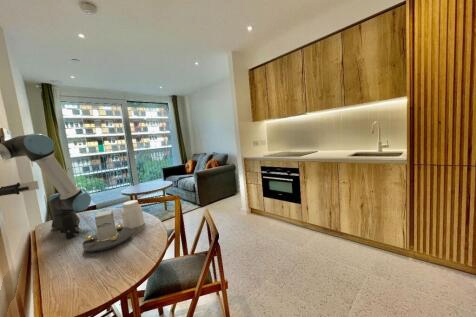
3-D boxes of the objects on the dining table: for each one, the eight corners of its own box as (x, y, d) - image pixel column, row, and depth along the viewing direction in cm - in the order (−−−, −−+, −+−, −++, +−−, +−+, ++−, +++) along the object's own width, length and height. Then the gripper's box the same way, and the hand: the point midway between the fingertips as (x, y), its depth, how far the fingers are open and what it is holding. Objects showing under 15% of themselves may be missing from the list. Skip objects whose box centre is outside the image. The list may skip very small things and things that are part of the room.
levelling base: (91, 238, 118) (90, 229, 118) (134, 229, 125) (133, 220, 125) (76, 259, 98) (74, 248, 97) (128, 246, 105) (127, 236, 104)
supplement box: (98, 241, 106) (93, 217, 105) (101, 235, 113) (96, 212, 111) (115, 236, 109) (110, 213, 108) (116, 231, 116) (112, 209, 114)
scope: (76, 210, 128) (74, 214, 120) (81, 231, 130) (79, 237, 122) (59, 214, 124) (56, 219, 116) (64, 236, 126) (61, 242, 117)
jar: (124, 230, 125) (120, 206, 123) (123, 225, 133) (119, 202, 131) (145, 224, 131) (141, 201, 129) (143, 220, 139) (139, 198, 137)
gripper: (-21, 200, 101) (39, 188, 116) (-33, 210, 83) (40, 195, 98) (-25, 185, 100) (36, 175, 115) (-38, 191, 82) (36, 179, 97)
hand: (38, 184), depth 106 cm, fingers open, 13 cm apart
